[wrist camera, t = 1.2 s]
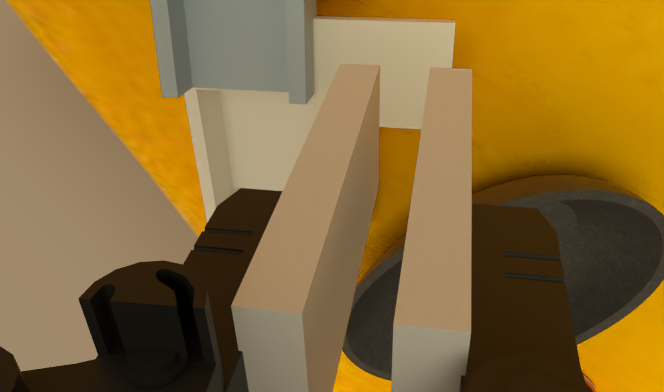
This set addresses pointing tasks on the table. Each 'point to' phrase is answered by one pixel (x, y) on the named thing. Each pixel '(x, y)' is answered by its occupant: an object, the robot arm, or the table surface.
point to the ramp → (297, 51)
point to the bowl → (576, 256)
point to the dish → (245, 139)
